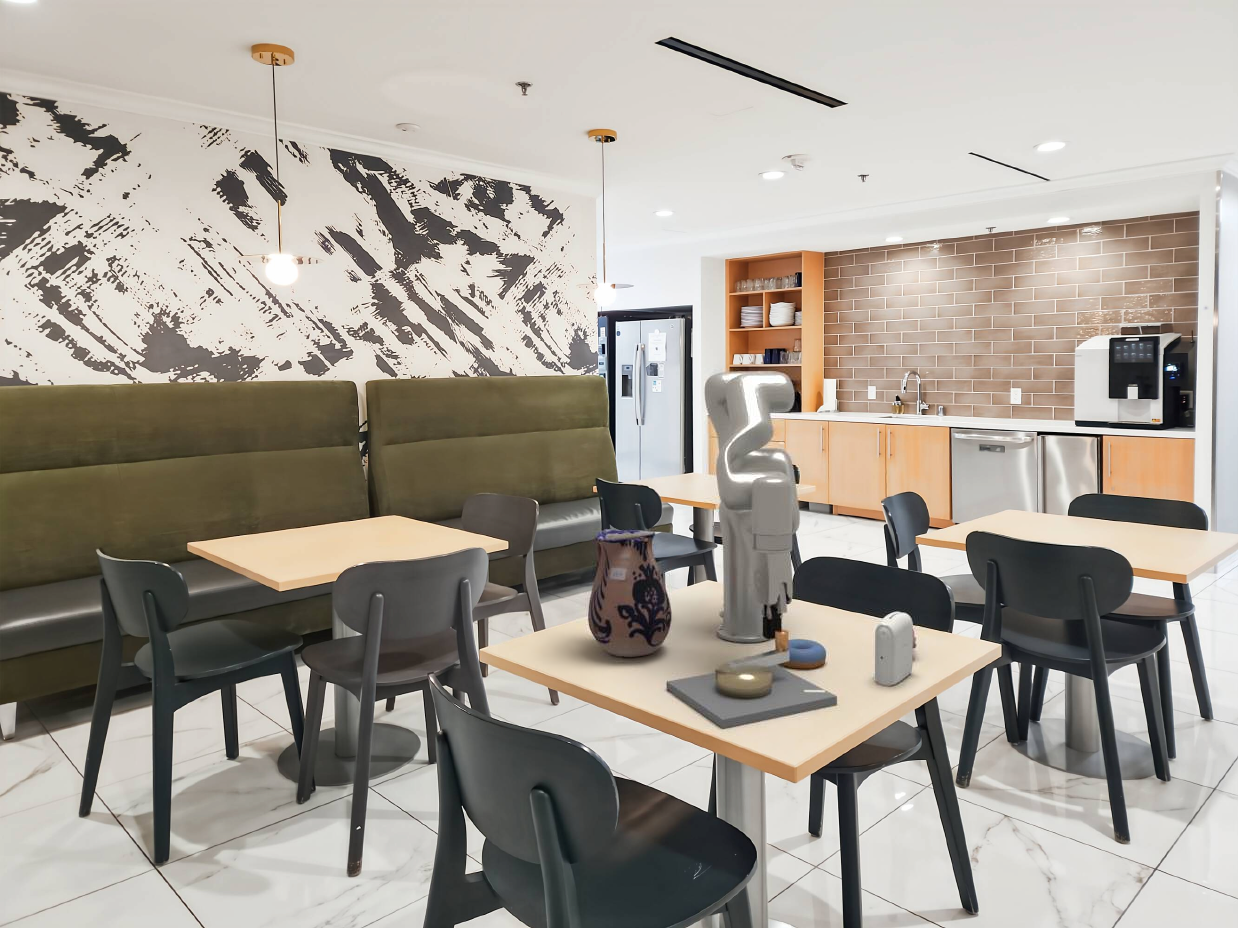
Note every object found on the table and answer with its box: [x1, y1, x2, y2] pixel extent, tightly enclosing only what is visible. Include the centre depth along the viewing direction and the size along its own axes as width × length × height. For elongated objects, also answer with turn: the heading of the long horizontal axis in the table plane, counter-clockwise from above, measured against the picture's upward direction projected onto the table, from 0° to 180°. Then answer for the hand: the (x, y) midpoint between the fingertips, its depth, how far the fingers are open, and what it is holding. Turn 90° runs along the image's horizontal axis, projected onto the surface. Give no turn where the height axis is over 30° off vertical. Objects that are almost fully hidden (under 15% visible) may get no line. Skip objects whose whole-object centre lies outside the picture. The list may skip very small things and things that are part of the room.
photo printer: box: [874, 611, 914, 687], centre depth 161 cm, size 10×4×12 cm, turn 140°
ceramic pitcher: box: [587, 528, 673, 658], centre depth 181 cm, size 18×21×25 cm
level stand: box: [666, 664, 838, 729], centre depth 154 cm, size 20×23×2 cm
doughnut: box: [780, 638, 827, 670], centre depth 172 cm, size 10×10×5 cm
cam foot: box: [714, 629, 790, 698], centre depth 154 cm, size 16×10×8 cm, turn 124°
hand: (772, 637), depth 163 cm, fingers closed
